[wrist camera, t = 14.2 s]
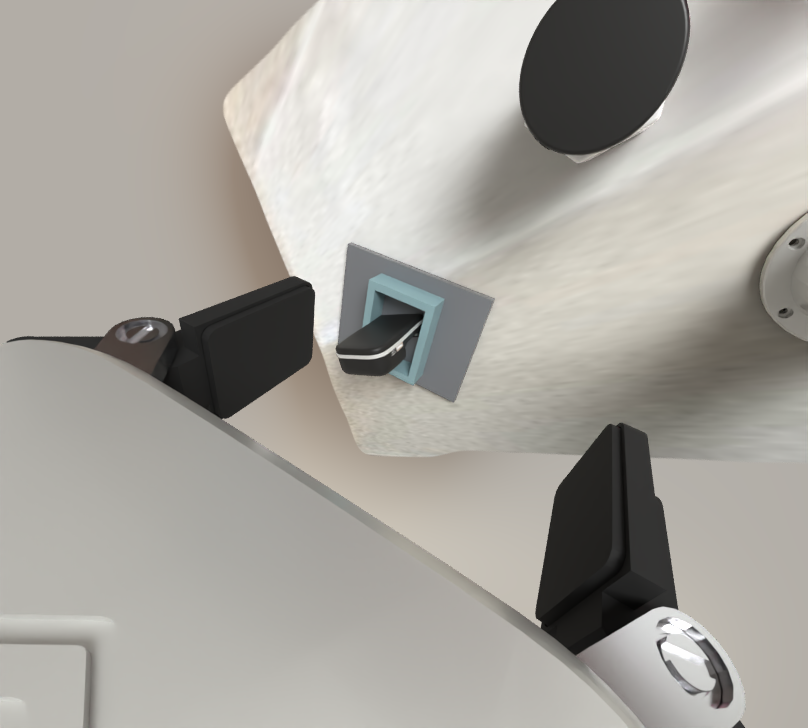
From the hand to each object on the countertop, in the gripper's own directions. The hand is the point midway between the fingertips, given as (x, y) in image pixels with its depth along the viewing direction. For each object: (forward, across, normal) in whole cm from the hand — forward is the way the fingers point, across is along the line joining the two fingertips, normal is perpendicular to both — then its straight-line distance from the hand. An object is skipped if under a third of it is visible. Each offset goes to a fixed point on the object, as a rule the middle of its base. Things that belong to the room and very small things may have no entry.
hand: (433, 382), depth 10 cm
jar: (+31, +1, -10) cm, 32 cm away
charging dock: (+30, +13, +17) cm, 37 cm away
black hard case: (+30, +13, +17) cm, 36 cm away
